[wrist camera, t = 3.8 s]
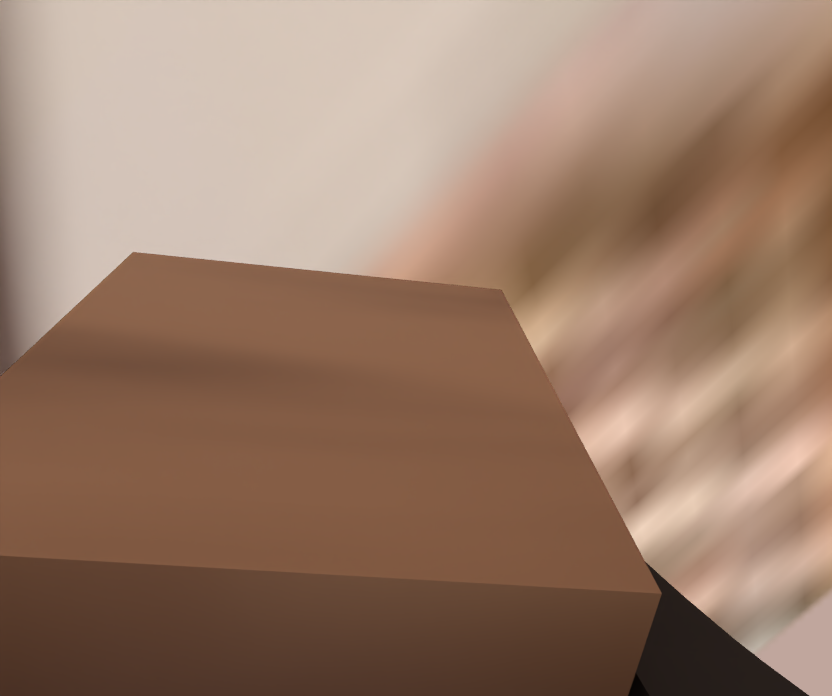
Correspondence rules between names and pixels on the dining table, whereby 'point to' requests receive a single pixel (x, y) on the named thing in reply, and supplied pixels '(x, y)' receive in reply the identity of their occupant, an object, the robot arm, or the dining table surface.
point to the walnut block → (303, 497)
